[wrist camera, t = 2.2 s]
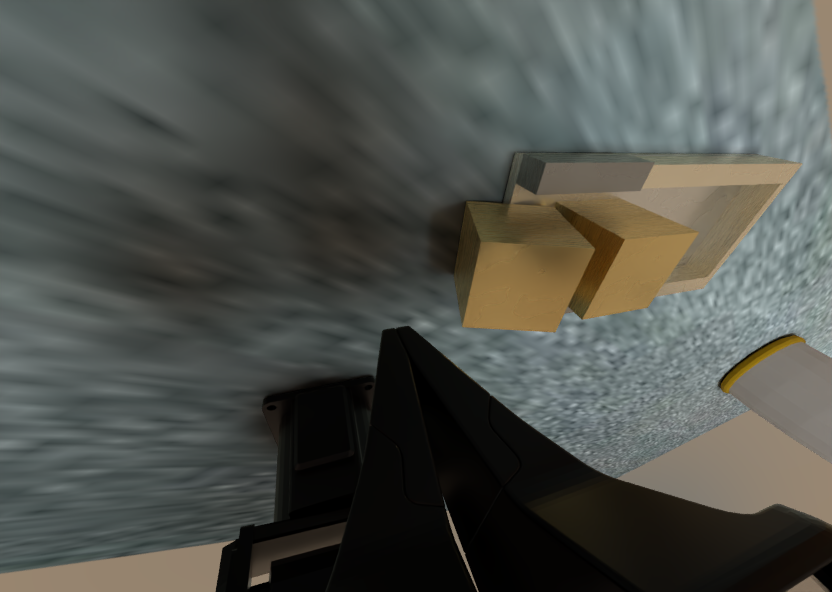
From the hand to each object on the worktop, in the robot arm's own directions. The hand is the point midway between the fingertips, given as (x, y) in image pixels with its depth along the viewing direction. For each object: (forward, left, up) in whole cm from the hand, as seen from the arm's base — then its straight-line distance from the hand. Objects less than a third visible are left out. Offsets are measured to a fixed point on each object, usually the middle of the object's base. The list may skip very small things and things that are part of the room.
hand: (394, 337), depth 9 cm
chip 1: (0, -7, -5) cm, 8 cm away
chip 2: (0, -11, -5) cm, 12 cm away
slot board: (0, -15, -6) cm, 16 cm away
